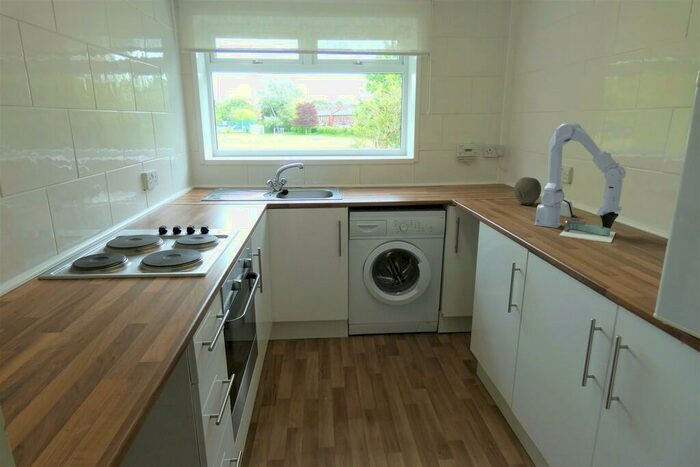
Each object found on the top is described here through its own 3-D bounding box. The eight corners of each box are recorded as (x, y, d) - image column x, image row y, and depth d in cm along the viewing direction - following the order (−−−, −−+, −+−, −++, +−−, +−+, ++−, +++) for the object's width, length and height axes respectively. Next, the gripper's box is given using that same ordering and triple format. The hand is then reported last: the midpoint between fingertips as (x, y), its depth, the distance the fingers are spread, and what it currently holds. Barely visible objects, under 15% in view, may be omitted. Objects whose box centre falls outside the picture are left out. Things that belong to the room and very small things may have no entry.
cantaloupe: (544, 206, 229) (547, 179, 225) (517, 206, 229) (520, 179, 225) (533, 202, 242) (536, 175, 238) (508, 201, 242) (511, 175, 239)
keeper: (564, 231, 176) (565, 221, 175) (563, 230, 178) (565, 220, 177) (583, 233, 173) (585, 222, 172) (583, 232, 175) (585, 221, 174)
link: (564, 227, 181) (565, 221, 181) (571, 225, 184) (572, 220, 183) (605, 236, 167) (606, 230, 167) (612, 234, 170) (613, 228, 169)
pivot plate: (559, 235, 171) (560, 224, 170) (567, 227, 185) (568, 216, 184) (610, 243, 161) (612, 231, 160) (615, 233, 175) (617, 222, 174)
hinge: (576, 216, 206) (574, 197, 202) (570, 220, 204) (568, 201, 201) (547, 210, 220) (544, 192, 217) (540, 213, 219) (538, 196, 215)
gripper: (612, 200, 161) (606, 235, 165) (631, 197, 169) (625, 230, 172) (593, 197, 167) (588, 231, 171) (613, 194, 175) (608, 226, 178)
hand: (606, 230), depth 172 cm, fingers closed
